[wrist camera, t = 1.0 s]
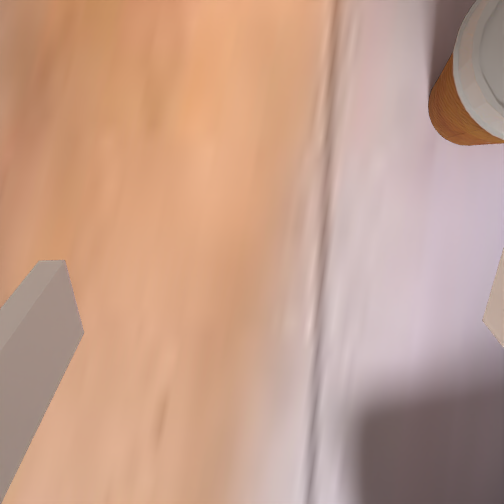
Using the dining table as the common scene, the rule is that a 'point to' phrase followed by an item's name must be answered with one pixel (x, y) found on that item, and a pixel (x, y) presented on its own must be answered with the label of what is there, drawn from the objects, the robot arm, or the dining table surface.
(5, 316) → the robot arm
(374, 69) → the dining table surface
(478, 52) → the disposable coffee cup
